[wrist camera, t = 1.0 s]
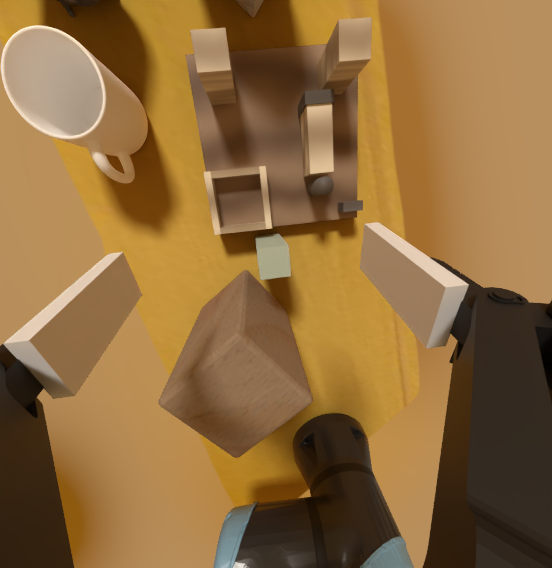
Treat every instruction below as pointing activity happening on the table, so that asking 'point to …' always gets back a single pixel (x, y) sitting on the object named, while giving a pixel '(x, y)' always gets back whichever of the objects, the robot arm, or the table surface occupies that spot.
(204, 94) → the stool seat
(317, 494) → the robot arm
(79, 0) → the alarm clock
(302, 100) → the hinged leg
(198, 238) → the table surface
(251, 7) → the coffee box
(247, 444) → the wooden block
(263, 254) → the leg peg
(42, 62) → the cup
